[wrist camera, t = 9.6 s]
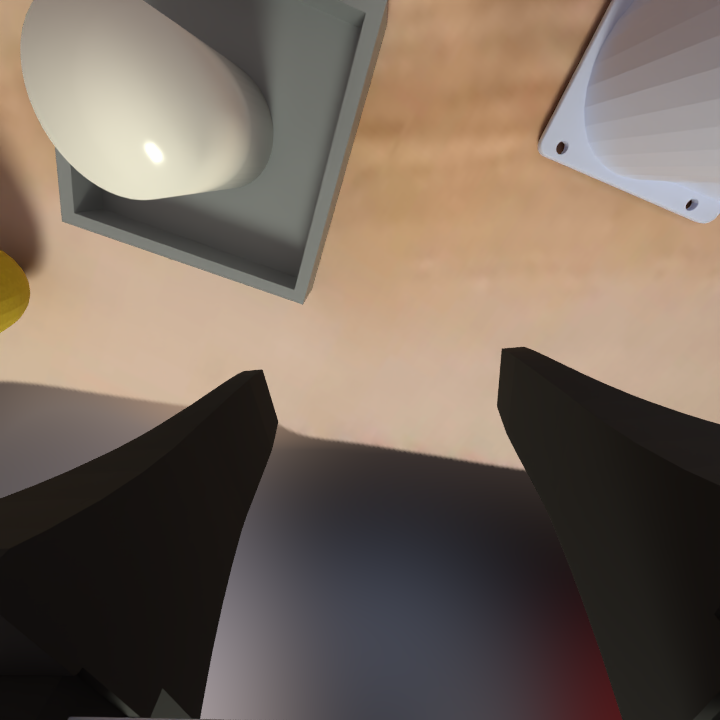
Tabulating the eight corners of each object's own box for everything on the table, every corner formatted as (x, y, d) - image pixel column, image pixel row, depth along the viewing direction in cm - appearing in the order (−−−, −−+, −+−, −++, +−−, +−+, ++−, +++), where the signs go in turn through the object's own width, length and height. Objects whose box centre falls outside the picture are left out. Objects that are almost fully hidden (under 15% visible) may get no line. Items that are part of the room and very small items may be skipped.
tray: (387, 24, 14) (387, -3, 12) (311, 289, 20) (302, 304, 18) (86, -113, 13) (24, -171, 10) (100, 215, 18) (62, 221, 16)
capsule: (281, 79, 15) (210, 18, 9) (264, 202, 17) (199, 221, 11) (165, 37, 14) (0, -60, 8) (164, 169, 17) (38, 170, 11)
